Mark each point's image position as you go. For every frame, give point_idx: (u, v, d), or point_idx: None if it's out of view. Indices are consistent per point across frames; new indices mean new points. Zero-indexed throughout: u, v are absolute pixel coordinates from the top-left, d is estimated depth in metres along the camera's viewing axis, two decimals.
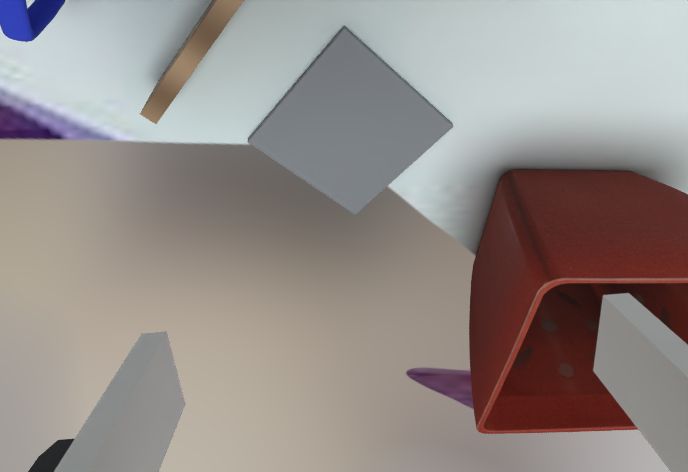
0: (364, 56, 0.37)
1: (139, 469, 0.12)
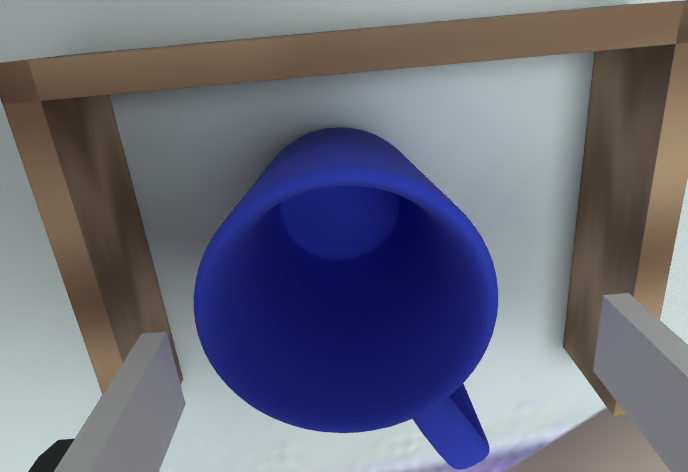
0: None
1: (139, 468, 0.12)
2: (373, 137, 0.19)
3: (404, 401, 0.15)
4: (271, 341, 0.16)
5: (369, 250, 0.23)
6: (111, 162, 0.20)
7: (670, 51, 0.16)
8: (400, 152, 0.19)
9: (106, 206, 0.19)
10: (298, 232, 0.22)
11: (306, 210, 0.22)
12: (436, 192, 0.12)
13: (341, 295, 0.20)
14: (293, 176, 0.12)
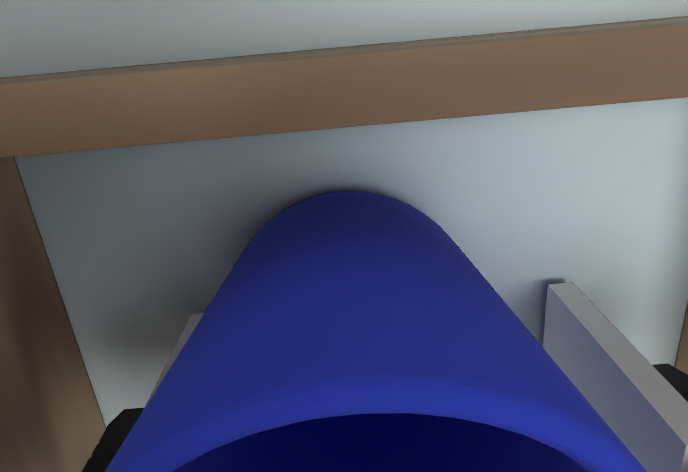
0: None
1: None
2: (405, 214, 0.12)
3: None
4: None
5: None
6: (8, 243, 0.13)
7: None
8: (444, 233, 0.13)
9: None
10: None
11: None
12: (581, 423, 0.05)
13: (353, 445, 0.13)
14: (256, 395, 0.05)
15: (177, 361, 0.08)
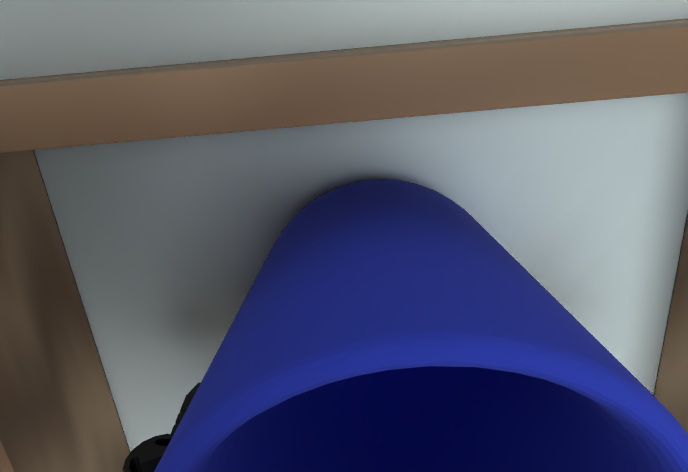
0: None
1: None
2: (440, 201, 0.12)
3: None
4: None
5: None
6: (29, 233, 0.14)
7: None
8: (476, 221, 0.13)
9: (16, 299, 0.13)
10: None
11: None
12: (629, 382, 0.06)
13: (381, 422, 0.14)
14: (336, 347, 0.06)
15: (238, 327, 0.08)
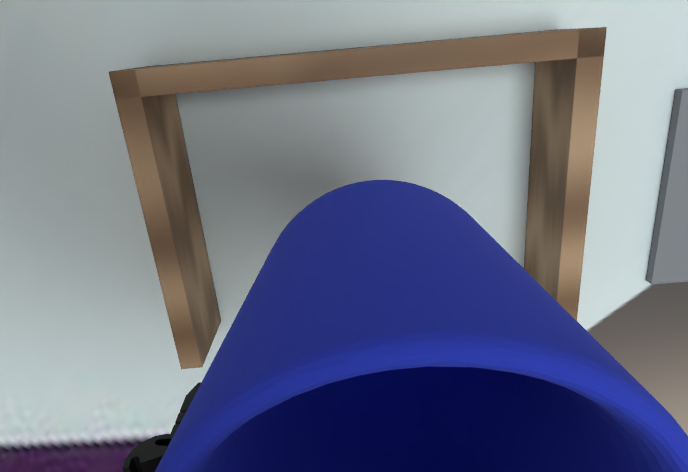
0: None
1: None
2: (440, 201, 0.12)
3: None
4: None
5: None
6: (177, 144, 0.27)
7: (574, 63, 0.23)
8: (475, 221, 0.13)
9: (174, 175, 0.27)
10: None
11: None
12: (628, 383, 0.06)
13: (380, 422, 0.14)
14: (337, 347, 0.06)
15: (239, 327, 0.08)
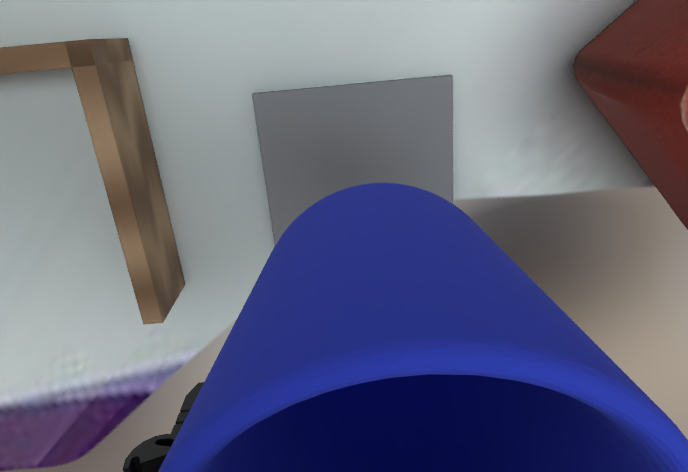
0: (293, 99, 0.30)
1: None
2: (440, 205, 0.12)
3: None
4: None
5: None
6: None
7: None
8: (476, 224, 0.13)
9: None
10: None
11: None
12: (630, 390, 0.06)
13: (381, 426, 0.14)
14: (337, 355, 0.06)
15: (238, 332, 0.08)
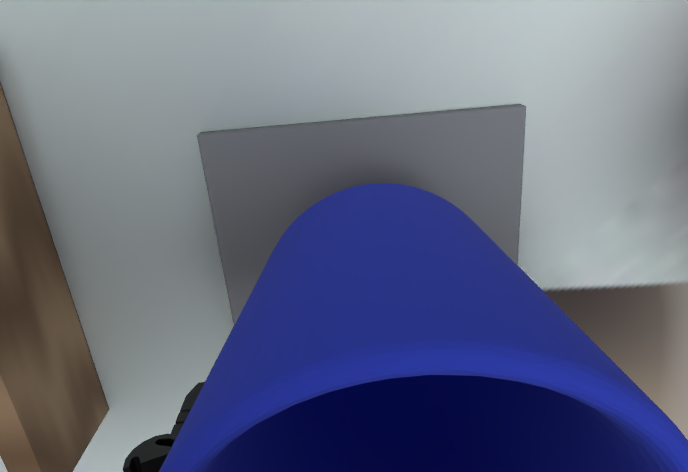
0: (265, 143, 0.18)
1: None
2: (440, 205, 0.12)
3: None
4: None
5: None
6: None
7: None
8: (476, 224, 0.13)
9: None
10: None
11: None
12: (631, 391, 0.06)
13: (381, 426, 0.14)
14: (337, 355, 0.06)
15: (239, 333, 0.08)
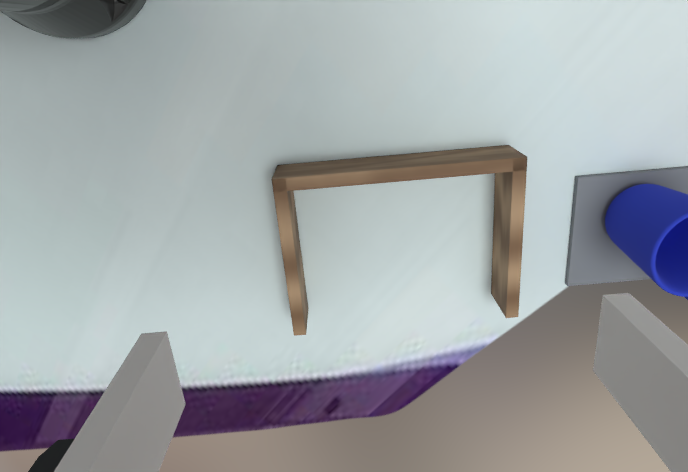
0: (602, 180, 0.49)
1: (139, 468, 0.12)
2: None
3: None
4: None
5: None
6: (294, 208, 0.49)
7: (512, 173, 0.44)
8: None
9: (294, 227, 0.48)
10: None
11: None
12: None
13: None
14: None
15: (656, 212, 0.42)
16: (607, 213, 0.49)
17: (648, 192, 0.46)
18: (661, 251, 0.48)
